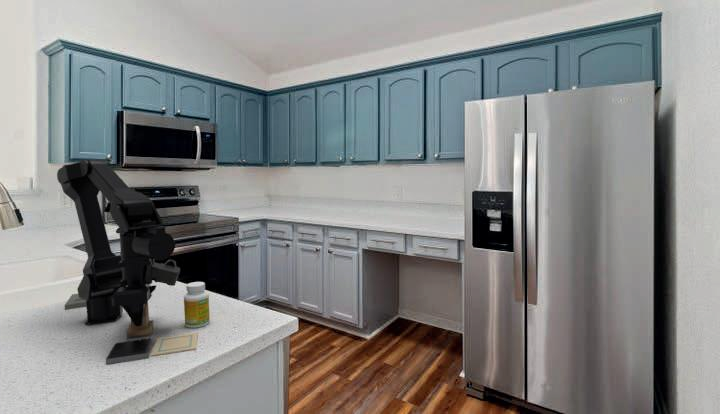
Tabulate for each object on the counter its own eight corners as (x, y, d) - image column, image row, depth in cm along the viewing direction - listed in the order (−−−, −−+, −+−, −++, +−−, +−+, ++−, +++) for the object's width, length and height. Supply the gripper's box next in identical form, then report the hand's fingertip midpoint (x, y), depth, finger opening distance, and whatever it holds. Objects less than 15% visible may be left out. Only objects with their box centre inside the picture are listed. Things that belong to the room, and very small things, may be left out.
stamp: (127, 339, 81) (125, 310, 81) (131, 330, 86) (129, 304, 85) (150, 335, 83) (148, 308, 82) (153, 328, 87) (152, 301, 87)
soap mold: (71, 301, 108) (70, 289, 108) (151, 290, 118) (150, 279, 117) (64, 312, 99) (63, 299, 99) (151, 299, 109) (151, 287, 108)
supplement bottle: (200, 329, 86) (198, 288, 85) (179, 327, 87) (178, 286, 87) (214, 320, 92) (212, 281, 91) (194, 318, 93) (192, 280, 92)
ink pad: (106, 364, 70) (105, 357, 70) (115, 348, 77) (114, 342, 77) (148, 357, 73) (147, 351, 73) (153, 342, 79) (153, 336, 79)
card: (151, 356, 74) (151, 354, 74) (157, 339, 81) (157, 337, 81) (196, 349, 76) (195, 347, 76) (197, 333, 84) (197, 332, 84)
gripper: (172, 260, 77) (175, 334, 78) (180, 244, 94) (183, 305, 96) (108, 265, 73) (113, 343, 74) (129, 247, 90) (133, 310, 92)
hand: (140, 323), depth 84 cm, fingers closed on stamp, 3 cm apart
